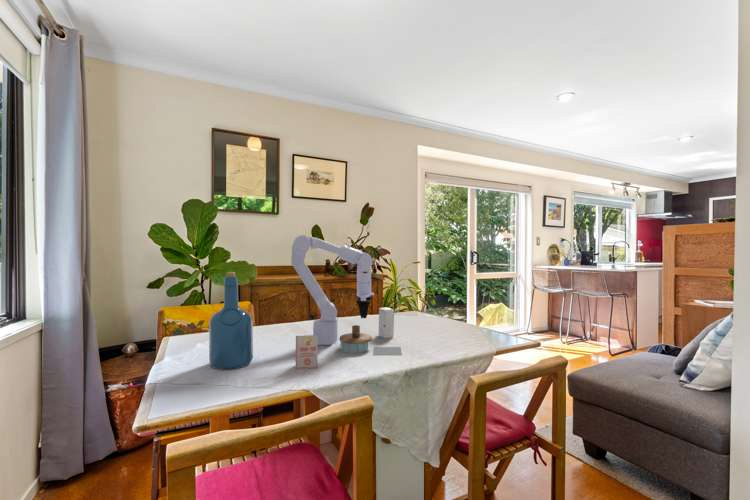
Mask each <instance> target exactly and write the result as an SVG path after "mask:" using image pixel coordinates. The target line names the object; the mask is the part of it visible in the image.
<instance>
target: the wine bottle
mask: <svg viewBox="0 0 750 500" xmlns="http://www.w3.org/2000/svg"><path fill="white" fill-rule="evenodd" d="M225 275H226V276H224V279H223V281H224V282H223V289H224V290H223V307H222V308H221V309H220V310H218V311H216V312H215V313H214V314H212V315H211V316H210V319H209V320H208V344H209V347H208V348H209V350H208V352H209V353H208V355H209V357H208V358H209V359H208V360H209V361H208V363H209V364H210V366H211V367H212V368H213V369H217V370H234V369H239V368H243V367H245V366H247V365H250V364H251V363H252V360H253V358H254V334H253V333H254V332H253V331H254V322H253V316H252V314H251V313H250V312H249V311H247V310H245V309H243V308H241V307H240V306H239V294H238V293H239V291H238V290H239V289H238V287H239V282H238V277H237V275H236V272H234V271H228V272H226V274H225Z"/></svg>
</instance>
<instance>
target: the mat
mask: <svg viewBox="0 0 750 500" xmlns="http://www.w3.org/2000/svg"><path fill="white" fill-rule="evenodd" d="M372 351H373V352H372V353H373V354H372V355H373V356H403V354H402V353H403V352H402V349H401V346H373V349H372Z"/></svg>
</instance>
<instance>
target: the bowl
mask: <svg viewBox="0 0 750 500" xmlns="http://www.w3.org/2000/svg"><path fill="white" fill-rule="evenodd" d="M340 351H342V352H344V353H345V352H346V353H353V354H355V353H356V354H357V353H363V352H366V351H369V342H367V343H360V344H350V343H344V342H341V341H340Z"/></svg>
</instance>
